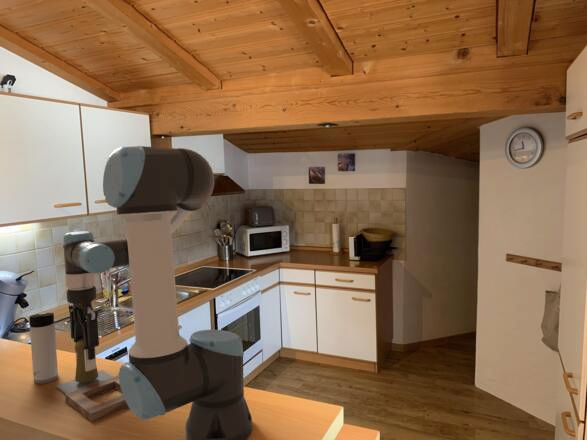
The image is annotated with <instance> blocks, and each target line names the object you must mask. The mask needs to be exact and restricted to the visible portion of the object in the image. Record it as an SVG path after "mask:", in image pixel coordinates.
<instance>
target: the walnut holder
mask: <svg viewBox="0 0 587 440" xmlns="http://www.w3.org/2000/svg"><path fill="white" fill-rule="evenodd" d="M114 389H116V390H117V391H118V392H121V393H122V390H121V387H120V382H119V374H117V375H114V376H113V377H111V378H108V379H106V380H103V381H100V382H97V383H95V384H92V385H89V386H86V387H84V388H81V389H78V390H75V391H72V392H70V393H67V394H64V395H65V402H66V403H67V404H68V405H70V406H71V407H72V408H74V409H75V410H76V411H77V412H79V413H80V414H81V415H82V416H83V417H84V418H86V419H88V420H89V421H90V422H94V421H96V420H98V419H101V418H103V417H106V416H107V415H110V414H113V413H114V412H118V411H119V410H121V409H122V410H123V409H125V408H126V407H129V406H128V405H127V403H126V401H125V398H124V396H123V394H121V395H118V396H115V397H114V398H110V399H107V400H105V401H103V402H101V403H98V404H97V403H96V402H94V401H93V400H92V399H91V398H92V397H95V396H98V395H101V394H104V393H105V392H109V391H111V390H114Z"/></svg>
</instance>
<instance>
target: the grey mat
mask: <svg viewBox="0 0 587 440" xmlns="http://www.w3.org/2000/svg"><path fill="white" fill-rule="evenodd" d="M97 371H98V370H97ZM111 377H114V376H113V375H111V374H109V373H108V372H106V371H104V370H103V369H102V370H99V371H98V378H96V379H95V380H92V381H89V382H83V383H80V382H76V381H75V379H72V380H69V381H67V382H63V383H61V384H58V385H56V388H57V389H58V390H59V391H60V392H62V393H63V394H64V395H65V394H67V393H70V392H72V391H75V390H78V389H81V388H84V387H86V386H89V385H92V384H95V383H97V382H100V381H103V380H106V379H108V378H111Z"/></svg>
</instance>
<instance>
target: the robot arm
mask: <svg viewBox="0 0 587 440" xmlns="http://www.w3.org/2000/svg"><path fill="white" fill-rule="evenodd" d="M103 171H104V172H103V176H102V177H103V178H102V192H103V195H104V199H105V202H106V203H107V204H108V206H110V207H112V208H115V209H116V216H117V217H118V218H119V219H120V220H122V221H123V222H124V224H125V226H126V227H125V228H126V229H125V230H126V238H124V239H113V240H102V241H95V239H94V234H93V233H92V232H91V231H73V232H72V231H71V232H67V233H65V234H64V235H63V239H62V240H63V241H62V242H63V244H62V248H63V256H64V259H63V260H64V271H65V273H64V277H65V288H67V289H66V301H67V303H68V304H70V305H68V312H69V325H70V338H71V339H72V340H73V342H74V345H75V344H76V343H77V342H78V341H80V340H83V339H84V340H85V346H86V347H84V348H83V350H84V356H85V371H86V372H87V371H90V370H93V369H96V367H97V359H96V358H97V357H96V356H97V355H96V347H99V346H100V339H99V326H98V324H99V322H98V319H99V318H98V317H99V312H98V311H94V309H93V305H92V302H93V301H95V300H96V299H97V298H98V295H97V294H98V293H97V286H96V283H97V281H96V277H97V274H103V273H106V272H107V271H108V270H112V269H117V268H124V267H129V276H130V277H129V278H130V291H131V301H132V314H133V325H134V327H133V328H134V336H135V337H134V339H135V342H134V343H133V344H132V345H131V346H130V347H129V349H128V351H127V352H128V362H124V364H122V365H121V366H120V367H119V372H118V375H119V382H120V387H121V390H122V392H121V393H122V395H123V396H124V398H125V401H126V403H127V405H128V406H127V407H128V408H129V410H130V411H131V412H132V414H133V415H134V416H135V417H136V418H138V419H140V420H142V421H143V420H144V421H145V420H146V421H147V420H150V419H154V418H156V417H158V416H164V415H166V414H167V413H170V412H172V411H174V410H176V409H179V408H182V407H184V406H185V405H188V404H190V403H191V406H190V410H189V414H188V418H187V419H186V422H185V438H186V440H247V439H249V437H250V435H252V432H253V417H252V415H251V412H250V409H249V406H248V403H247V401H246V398H245V393H244V392H245V387H244V383H245V381H244V356H245V355H244V353H245V352H244V349H243V348H244V347H243V340H242V339H241V336H240V335H238V334H237V333H234V332H232V331H227V330H223V329H222V330H221V329H203V330H197V331H195V332H193V333H192V334H191V335H190V338H189V342H190V343H188V341H187V339H185V338H184V337H183V336H182V335H180V327H179V316H178V315H179V314H178V301H177V299H178V298H177V288H176V276H175V275H176V274H175V263H174V260H175V259H174V250H173V249H174V248H173V236H172V235H173V234H174V232H175V231H177V229H178V228H179V227H180V226H181V225H182V224H183V222H184V221H185V220H186V219H187V218H188V217H189V216H190V215H191V213H193V212H197V211H199V210H200V209H202V208H203V207H204V205H205V204H206V203H207V202H208V201H209V199H210V198H211V196H212V194H213V191H214V187H215V174H214V172H213V168H212V166H211V165H210V163H209V162H208V161H207V159H206V158H205V157H204V156H202V154H200V153H198V152H197V151H194V150H191V149H188V148H179V147H178V148H175V147H174V148H172V147H170V148H169V147H157V146H144V145H143V146H141V145H135V146H121V147H118V148H116V149H115V150H113V151H112V153H111V154H110V155H109V157H108V159H107V161H106V164H105V167H104V170H103ZM75 362H76V364H77V352H76V351H75Z"/></svg>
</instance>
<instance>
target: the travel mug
mask: <svg viewBox="0 0 587 440" xmlns="http://www.w3.org/2000/svg"><path fill="white" fill-rule="evenodd" d="M29 334H30V335H29V336H30V348H31V360H32V361H31V362H32V376H33V377H32V378H33V382H34V383H35V384H38V385H43V384H49V383H51V382H53V381H55V380H56V379H58V377H59V372H58V371H59V369H58V356H57V355H58V354H57V353H58V352H57V341H56V337H57V336H56V326H55V313H54V312H46V313H41V314H40V313H38V314H37V313H36V314H32V315H29Z"/></svg>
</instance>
